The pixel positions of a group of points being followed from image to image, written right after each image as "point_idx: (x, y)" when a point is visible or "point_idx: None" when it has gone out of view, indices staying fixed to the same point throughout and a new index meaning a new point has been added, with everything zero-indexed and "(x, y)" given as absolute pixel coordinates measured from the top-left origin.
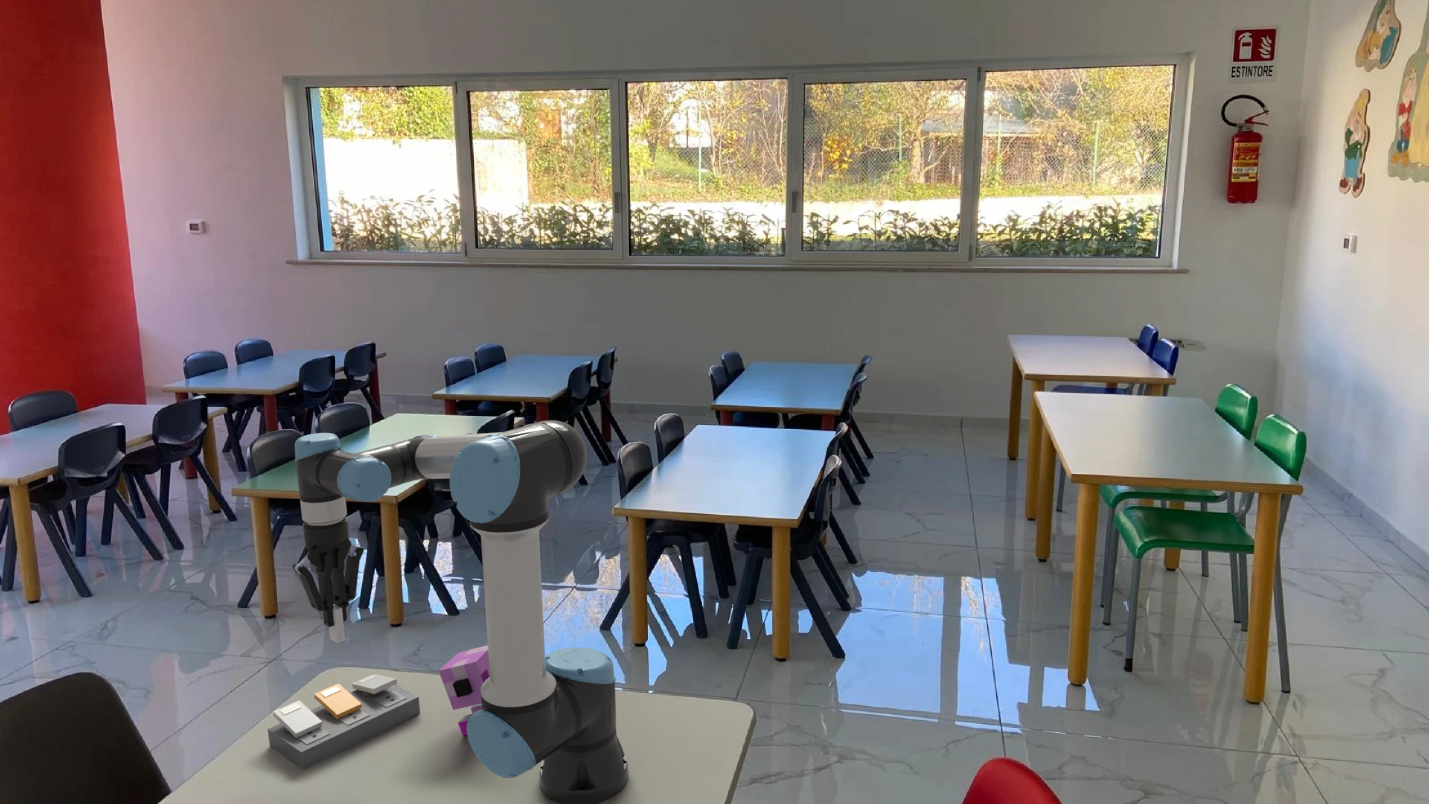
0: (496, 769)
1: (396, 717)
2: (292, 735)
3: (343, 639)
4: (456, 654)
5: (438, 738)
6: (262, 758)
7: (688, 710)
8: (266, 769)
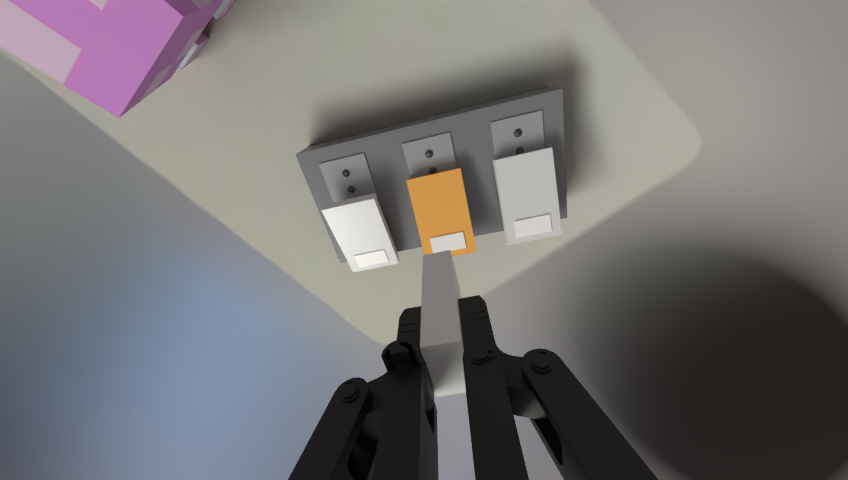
0: None
1: (352, 137)
2: None
3: (428, 257)
4: (124, 106)
5: (295, 19)
6: (580, 175)
7: None
8: (592, 135)
